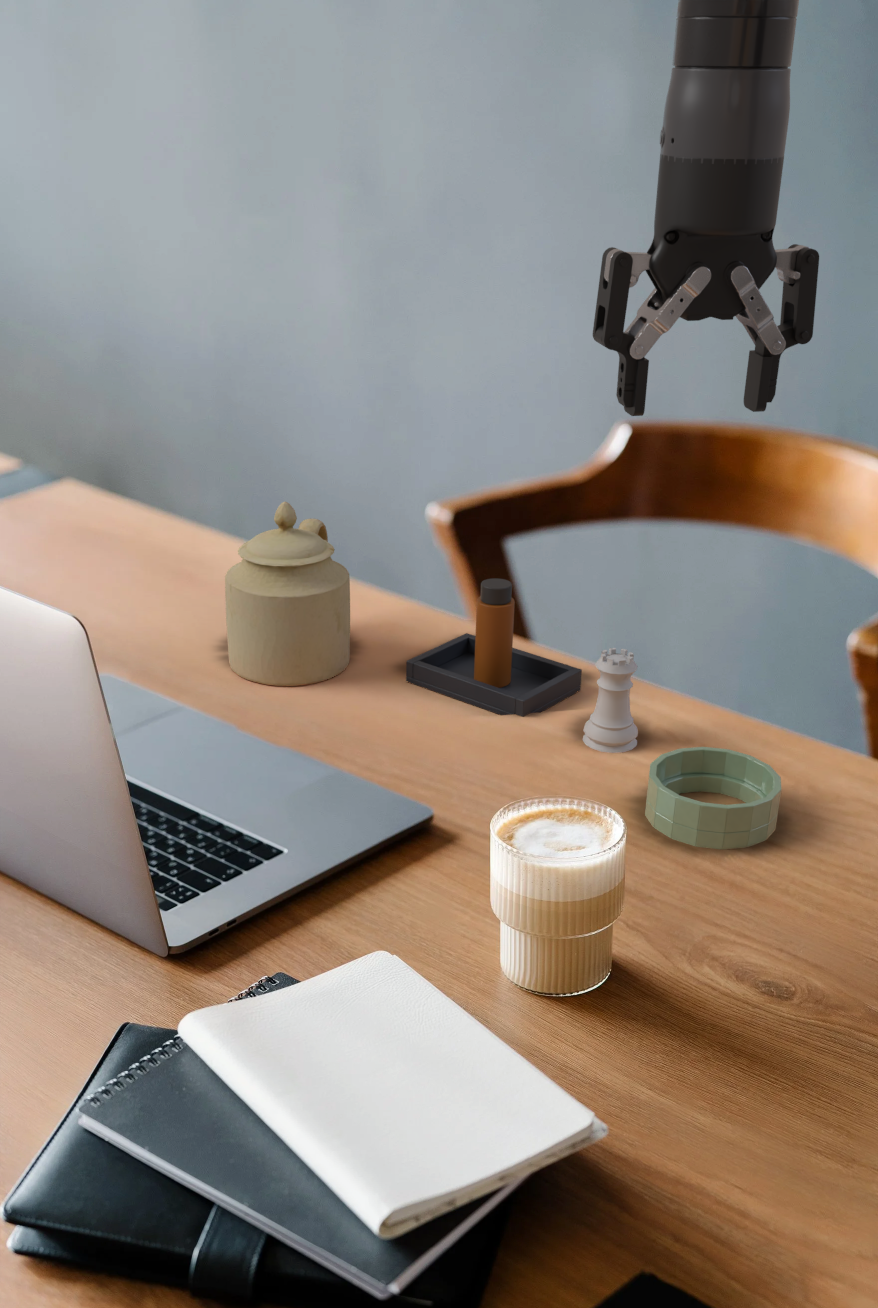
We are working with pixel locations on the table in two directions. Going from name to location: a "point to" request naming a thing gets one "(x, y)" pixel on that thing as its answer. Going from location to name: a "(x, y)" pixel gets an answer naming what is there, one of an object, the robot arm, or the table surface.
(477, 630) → the bottle
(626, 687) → the rook chess piece
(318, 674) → the sugar bowl
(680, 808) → the green hollow ring
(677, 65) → the robot arm
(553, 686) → the tray
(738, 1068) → the table surface
